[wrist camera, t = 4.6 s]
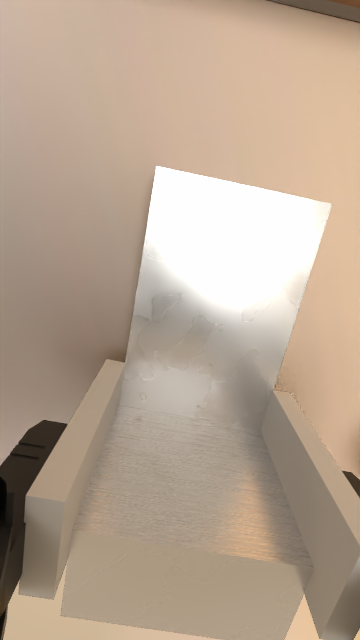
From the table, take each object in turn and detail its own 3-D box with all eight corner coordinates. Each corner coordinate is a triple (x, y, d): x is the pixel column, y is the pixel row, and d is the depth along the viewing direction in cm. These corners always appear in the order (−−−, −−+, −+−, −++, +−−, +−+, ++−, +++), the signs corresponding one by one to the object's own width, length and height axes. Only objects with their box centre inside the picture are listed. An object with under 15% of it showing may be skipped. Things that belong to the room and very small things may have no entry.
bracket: (233, 448, 16) (280, 647, 8) (119, 428, 16) (60, 615, 8) (304, 208, 13) (487, 176, 5) (161, 178, 13) (127, 95, 5)
